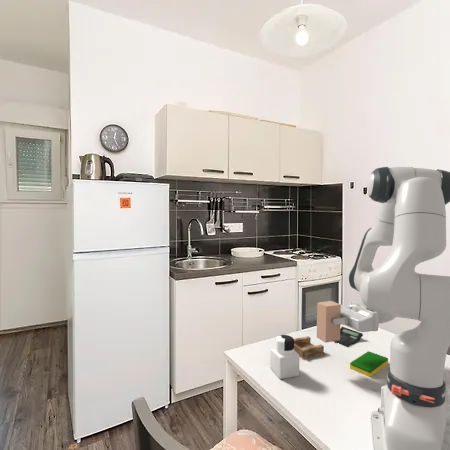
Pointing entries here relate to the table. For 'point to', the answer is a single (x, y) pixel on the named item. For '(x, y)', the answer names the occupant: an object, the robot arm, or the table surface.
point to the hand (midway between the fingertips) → (326, 318)
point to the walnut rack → (307, 348)
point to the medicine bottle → (284, 358)
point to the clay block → (328, 321)
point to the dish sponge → (369, 363)
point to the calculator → (348, 337)
